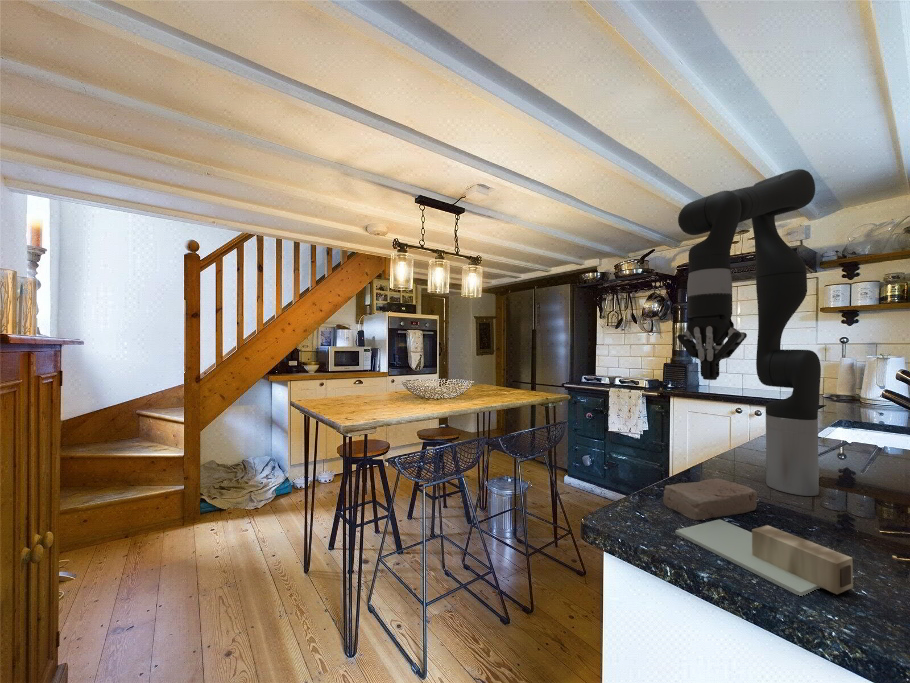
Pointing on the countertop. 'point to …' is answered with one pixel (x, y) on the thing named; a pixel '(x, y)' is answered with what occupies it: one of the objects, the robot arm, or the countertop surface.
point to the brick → (710, 498)
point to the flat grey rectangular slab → (743, 553)
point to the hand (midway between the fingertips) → (709, 379)
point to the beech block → (803, 558)
